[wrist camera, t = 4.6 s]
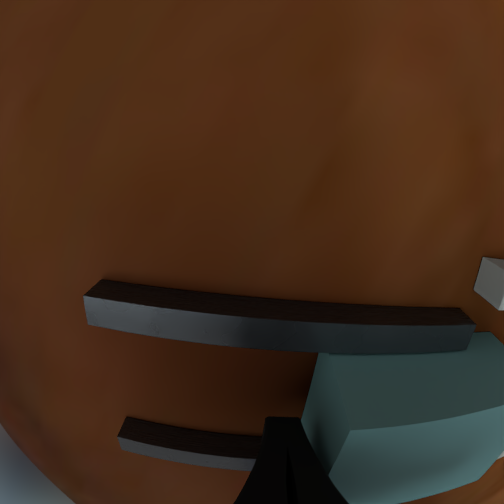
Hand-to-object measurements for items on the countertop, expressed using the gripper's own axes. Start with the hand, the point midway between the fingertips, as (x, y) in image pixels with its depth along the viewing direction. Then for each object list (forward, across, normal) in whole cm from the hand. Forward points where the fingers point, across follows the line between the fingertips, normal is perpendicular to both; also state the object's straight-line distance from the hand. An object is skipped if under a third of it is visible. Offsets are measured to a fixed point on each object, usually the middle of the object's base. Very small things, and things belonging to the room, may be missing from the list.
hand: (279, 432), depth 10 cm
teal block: (+2, -6, 0) cm, 6 cm away
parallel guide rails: (+2, 0, 0) cm, 2 cm away
